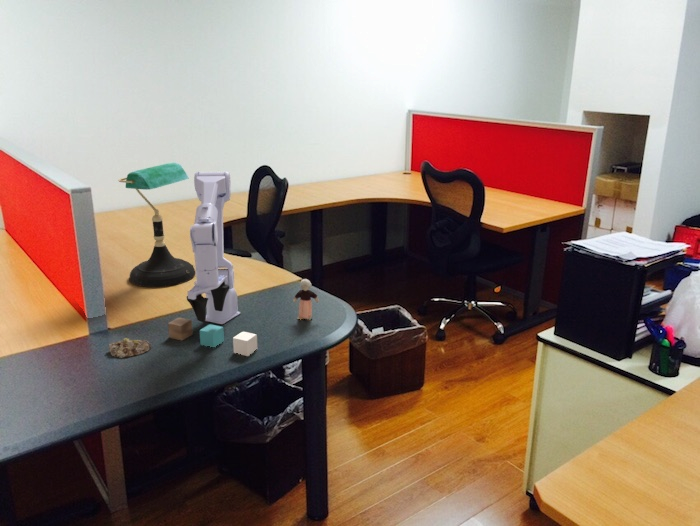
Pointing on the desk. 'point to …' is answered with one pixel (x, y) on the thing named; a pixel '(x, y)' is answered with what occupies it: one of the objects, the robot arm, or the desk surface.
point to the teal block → (211, 335)
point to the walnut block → (180, 328)
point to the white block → (245, 343)
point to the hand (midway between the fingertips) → (210, 315)
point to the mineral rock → (128, 348)
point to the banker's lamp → (158, 231)
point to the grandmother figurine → (305, 300)
